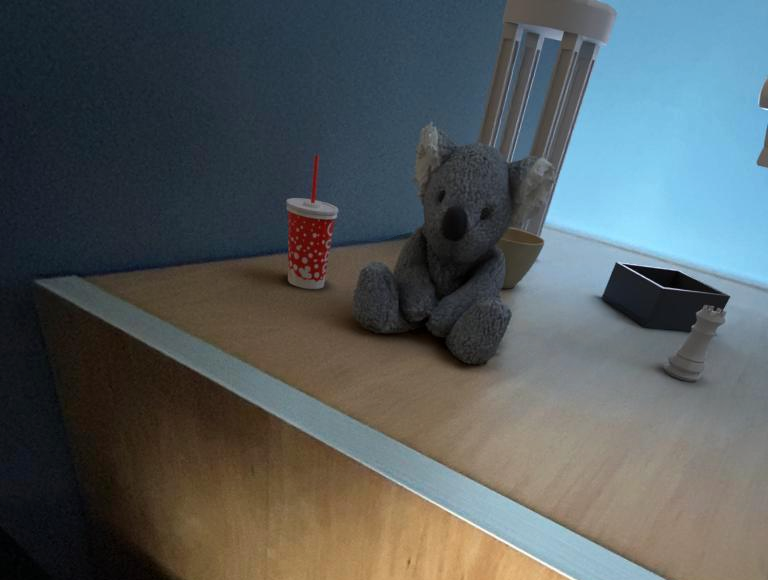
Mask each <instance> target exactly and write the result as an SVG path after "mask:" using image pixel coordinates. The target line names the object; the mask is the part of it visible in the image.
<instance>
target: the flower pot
mask: <svg viewBox="0 0 768 580" xmlns="http://www.w3.org/2000/svg"><path fill="white" fill-rule="evenodd" d="M545 243H546V241H545V239H544V238H542V237H541V236H540V237H539V236H537V235H535V234H532V233H529V232H526V231H523V230H519V229H515V228H511V227H509V228H508V229H507V231H506V232H505V234H504V235H503V237H502V238H501V239H500V240H499V241H498V243H496V244H495V245H496V246H497V247H498V248H499V249H500V250H502V253H503V254H504V257H505V265H506V268H505V277H504V282H503V285H502V288H501V289H513V288H515V286H517V285H518V284H519V283H520V282H521V281H522V280H523V278H524V277H525V276H526V275H527V274H528V272H529V271H530V270H531V268H532V267H533V265H534V264H535V263H536V261H537V259H538V257H539V256H540V254H541V252H542V249H543V247H544V245H545Z"/></svg>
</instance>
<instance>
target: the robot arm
mask: <svg viewBox="0 0 768 580" xmlns="http://www.w3.org/2000/svg"><path fill="white" fill-rule="evenodd" d="M757 106H758V108H760V109H763V110H766V111H768V75H767V76H766V78H765V81H764V82H763V84H762V86H761V89H760V92H759V95H758V103H757ZM756 165H757V167H762V168H767V169H768V124H767V125H766V130H765V136H764V141H763V146H762V149H761V151H760V152H759V155H758V157H757V158H756Z"/></svg>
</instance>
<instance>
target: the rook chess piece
mask: <svg viewBox="0 0 768 580" xmlns="http://www.w3.org/2000/svg"><path fill="white" fill-rule="evenodd" d="M707 307H708V306H707V305H704V306H703V308H702V310H700V311H698V312H697V313H696V317H697V322H696V324H695V325H693V326H692V331H690V333H689V335H688V337H687V338H686V339H685V341H684V342H683V344H682V345H681V346H680V347H679V348H678V349H676V350H675V352H674V353H671V354H669V356H668V358H667V361H668V362H665V363H664V365H663V368H664V371H665V373H666V374H668V375H669V376H671V377H673V378H675V379H678V380H681V381H685V382H690V383H691V382H696V381H698V380H700V379H702V374H701V373H704V371H705V368H706V364H705V361H706V353H707V350H708V348H709V345H710V343H711V341H712V339H713V338H714V337H715V336H717V329H718V328H719V327H720V326H722V325H725V324H726V318H725V316H726V315H727V311H726V310H723V311H722V309H720V308H717V310H716V311H713V308H714V306H709V308H708V310H707ZM721 311H722V313H721ZM720 313H721V314H720Z"/></svg>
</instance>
